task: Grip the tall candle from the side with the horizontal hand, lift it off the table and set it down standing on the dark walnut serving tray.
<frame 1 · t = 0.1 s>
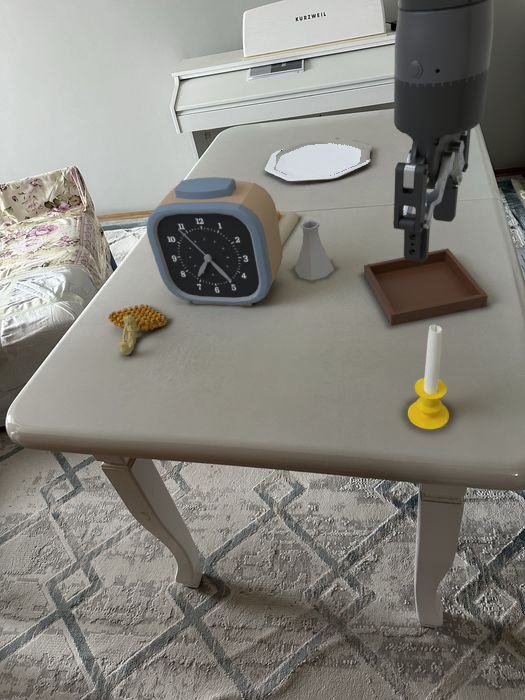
hand: (430, 238, 53), 26 cm above the table, tool pointing down, fingers open, 8 cm apart
candle: (428, 417, 69), on the table
wooden puzzle: (248, 237, 114), on the table
alarm clock: (228, 295, 98), on the table
plate: (318, 163, 139), on the table
tray: (420, 291, 89), on the table
flask: (314, 272, 99), on the table
ornament: (138, 335, 92), on the table
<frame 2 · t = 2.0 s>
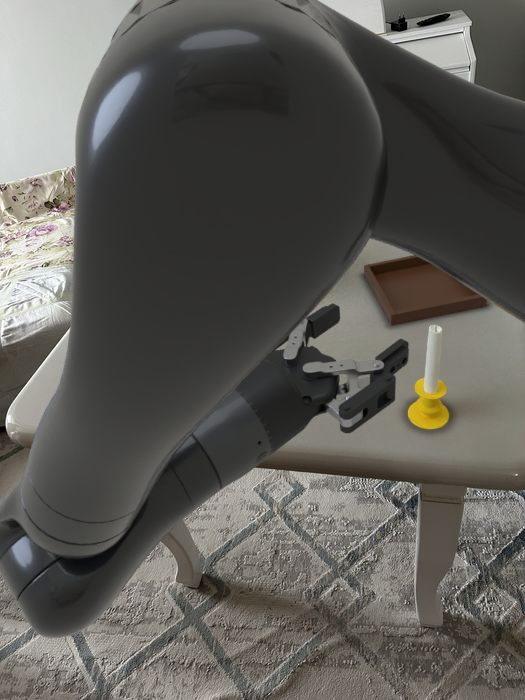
hand: (369, 328, 50), 22 cm above the table, tool horizontal, fingers open, 8 cm apart
nothing on the table moved.
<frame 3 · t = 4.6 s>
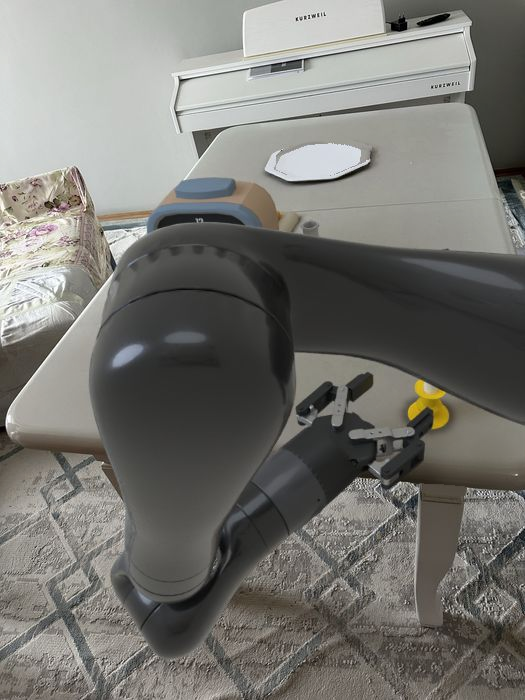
hand: (399, 394, 60), 9 cm above the table, tool horizontal, fingers open, 8 cm apart
nothing on the table moved.
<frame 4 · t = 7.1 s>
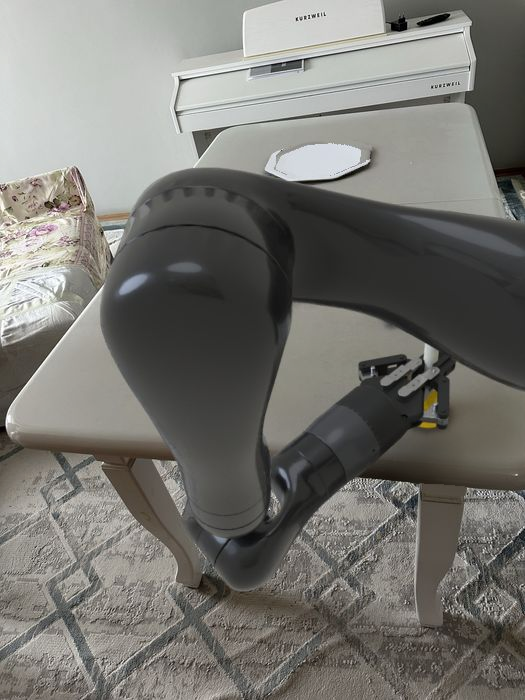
hand: (447, 354, 64), 9 cm above the table, tool horizontal, fingers closed on candle
candle: (425, 416, 69), on the table, touching gripper
everything else where it was.
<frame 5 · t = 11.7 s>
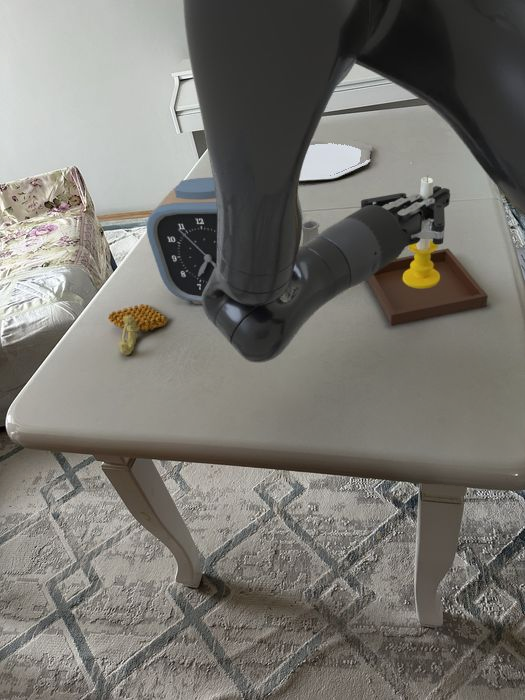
hand: (442, 194, 69), 22 cm above the table, tool horizontal, fingers closed on candle
candle: (420, 279, 76), point 9 cm above the table, touching gripper
everything else where it was.
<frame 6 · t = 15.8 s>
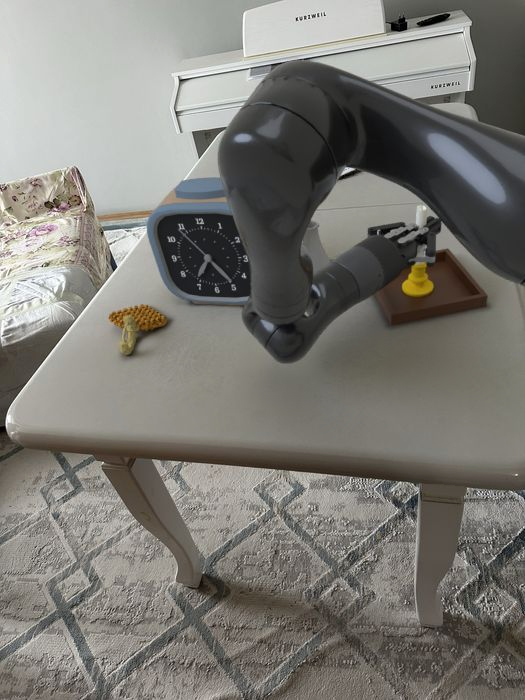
hand: (435, 222, 83), 12 cm above the table, tool horizontal, fingers closed on candle
candle: (417, 289, 89), resting on tray, touching gripper
everything else where it was.
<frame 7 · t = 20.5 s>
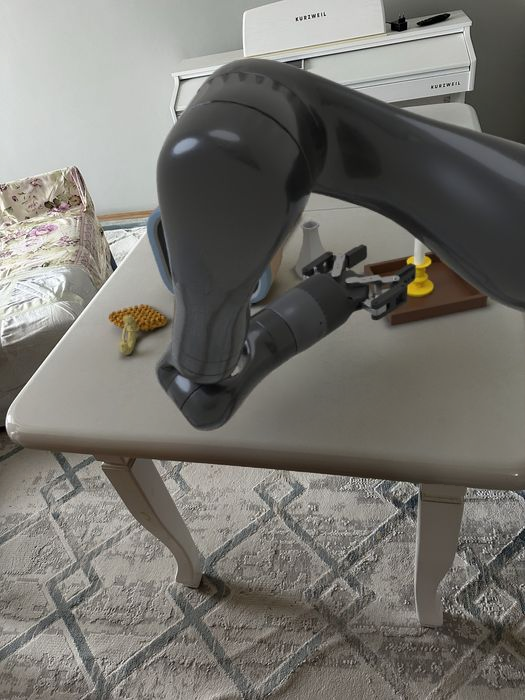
hand: (388, 259, 72), 14 cm above the table, tool horizontal, fingers open, 8 cm apart
candle: (417, 289, 89), resting on tray
everything else where it was.
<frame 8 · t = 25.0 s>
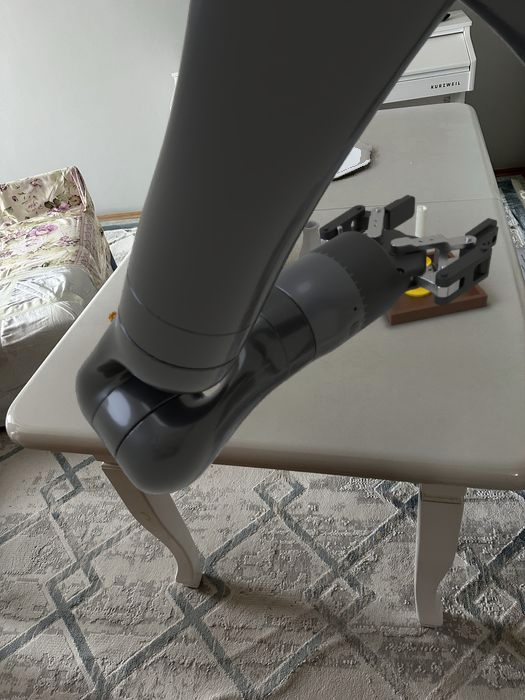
hand: (449, 215, 48), 30 cm above the table, tool horizontal, fingers open, 8 cm apart
nothing on the table moved.
at the end: candle inside the target area in the tray (0.6 cm from its centre), point 0.4 cm above the tray's base; candle tilted 0°; the gripper is holding nothing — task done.
